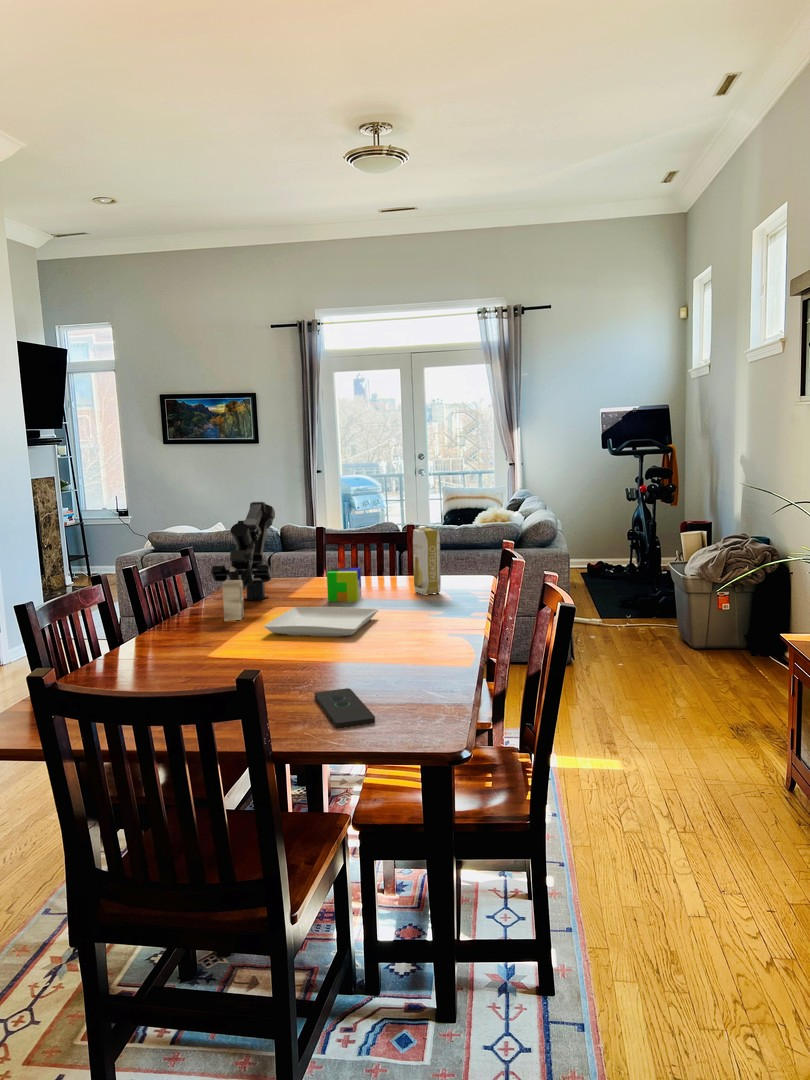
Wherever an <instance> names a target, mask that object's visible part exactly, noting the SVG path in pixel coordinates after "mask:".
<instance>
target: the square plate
mask: <svg viewBox="0 0 810 1080" xmlns="http://www.w3.org/2000/svg"><path fill="white" fill-rule="evenodd" d="M378 611H379V610H378V609H377V608H361V607H360V608H359V607H344V606H343V607H340V606H296V607H295V606H294V607H293V608H292V607H291V608H290V609H289V610H286V611H285V612H284V613H282V614H280V615H278V616H277V617H275V618H274V619H272V620H271V621H269V622H267V623H266V624H264V625H263V628H266V630H268V631H269V632H270V633H271V632H272V633H274V634H281V635H282V634H283V635H285V634H287V635H286V636H299V635H310V637H347V636H352V635H354V634H355V633H356V632H357V631H358V630H359V629H360V628H361V627H362V626H365V624H366V623H368V622H369V621H370V620H371V619H372V618H373V617H375V615H376V614H377V612H378Z"/></svg>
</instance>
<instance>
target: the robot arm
mask: <svg viewBox="0 0 810 1080" xmlns="http://www.w3.org/2000/svg"><path fill="white" fill-rule="evenodd" d="M275 518H276V511H275V509H274V507H273V506H272V505H269V504H267V503H266V502H265V501H252V502H250V503H249V510H248V512H247V514H246V518H245V519H244V520H238V521H237V523H235V524H233V525H232V526H231V528H230V533H231V537H232V539H233V542H234V545H235V546H236V550H230V552H229V553H230V555H229V556H230V557H229V561H230V562H231V563H230V565H231V567H229V568H228V569H226V566H225V564H221V565H219V564H218V565H212V566H211V569H210V573H211V575H212V578H213V580H214V581H215V582H225V581H226V580H228V577H229V580H242V586H243V591H244V590H245V589H246V596H245V597H243V600H244V599H248V600H247V601H256V600H259V601H261V600H260V599H262V600H264V599H263V598H265V599H267V598H266V597H268V598H269V595H266V592H265V591H266V590H265V583H267V582H269V581H271V580H272V570H271V566H270V565H269V564H267V563H265V560H264V557H263V554H264V550H265V543H266V536H267V530H268V529H269V528H270V527H272V525H273V521H274V520H275Z"/></svg>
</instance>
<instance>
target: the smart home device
mask: <svg viewBox="0 0 810 1080" xmlns="http://www.w3.org/2000/svg"><path fill="white" fill-rule="evenodd" d="M315 699H316V700H315ZM314 700H315V701H316V703H317V702H318V703H319V704H318V703H317V704H318V705H320V706H321V707H320V706H319V707H320V708H321V710H322V709H323V710H322V711H323V712H325V713H326V714H325V713H324V714H325V715H326V717H327V716H328V717H327V718H328V720H329V721H330V723H331V724H332V723H333V724H332V726H333V727H334V726H335V727H336V728H335V727H334V728H335V729H337V728H340V729H345V728H344V727H347V728H352V727H351V726H353V727H357V725H360V726H366V725H365V724H367V725H372V724H371V723H374V724H375V723H376V716H375V714H373V712H372V711H371V710H370V709H369V708H368V707H367V706H366V705H365V704H364V702H363V700H361V698H359V697H358V695H357V694H356V693H355V692H354V691H353V690H352V688H348V687H347V688H346V687H345V688H339V689H338V688H337V689H332V690H323V691H316V692H314Z"/></svg>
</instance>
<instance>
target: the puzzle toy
mask: <svg viewBox="0 0 810 1080" xmlns="http://www.w3.org/2000/svg"><path fill="white" fill-rule="evenodd" d="M361 574H362V573H361V567H333V568H331V569H330V570H328V572H326V582H327V583H326V584H327V585H326V586H327V602H328V601H357V602H358V601H359V600H360V598H361V597H362V575H361Z"/></svg>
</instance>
